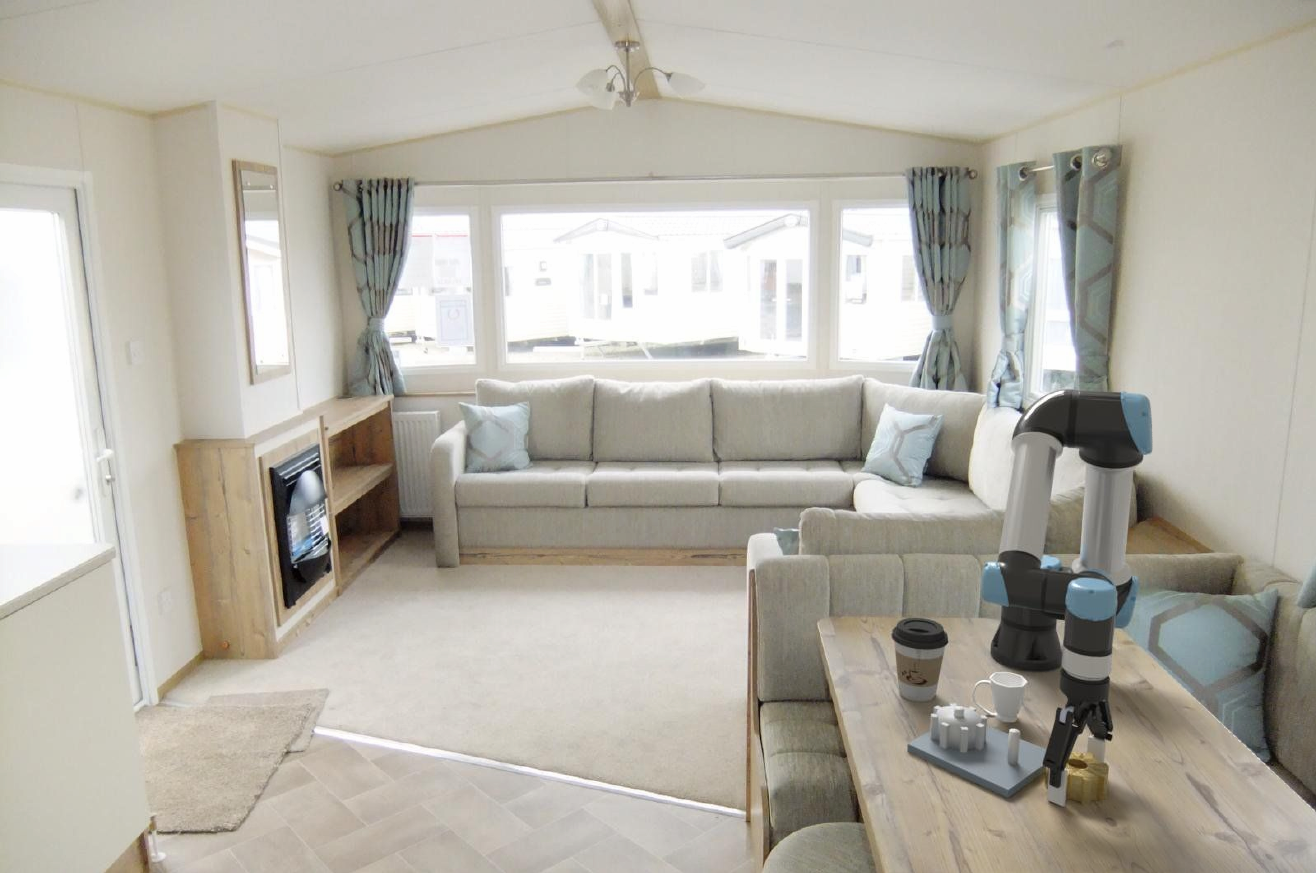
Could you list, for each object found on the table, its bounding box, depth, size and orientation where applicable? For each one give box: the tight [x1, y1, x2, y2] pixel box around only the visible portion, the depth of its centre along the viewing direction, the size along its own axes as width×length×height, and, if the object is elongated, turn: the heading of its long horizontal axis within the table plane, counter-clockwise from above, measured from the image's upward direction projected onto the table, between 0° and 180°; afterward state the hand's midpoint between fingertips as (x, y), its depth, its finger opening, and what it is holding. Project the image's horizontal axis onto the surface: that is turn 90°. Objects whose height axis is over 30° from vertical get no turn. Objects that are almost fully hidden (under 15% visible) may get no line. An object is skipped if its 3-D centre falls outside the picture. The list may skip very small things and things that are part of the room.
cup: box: [971, 671, 1028, 723], centre depth 184 cm, size 7×10×8 cm
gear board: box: [907, 703, 1047, 799], centre depth 169 cm, size 17×20×8 cm
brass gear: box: [1044, 750, 1110, 806], centre depth 160 cm, size 10×10×4 cm
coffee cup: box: [890, 617, 949, 703], centre depth 193 cm, size 11×11×15 cm
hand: (1075, 787), depth 160 cm, fingers open, 13 cm apart
